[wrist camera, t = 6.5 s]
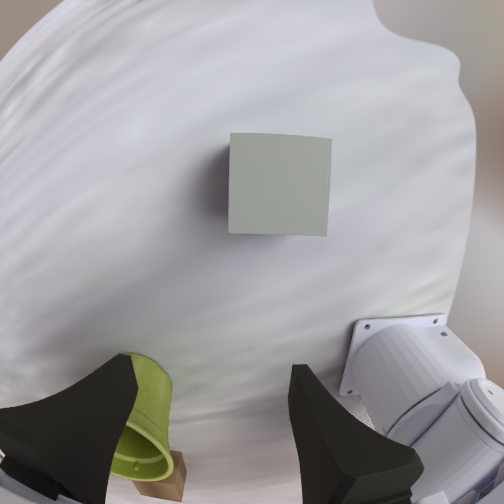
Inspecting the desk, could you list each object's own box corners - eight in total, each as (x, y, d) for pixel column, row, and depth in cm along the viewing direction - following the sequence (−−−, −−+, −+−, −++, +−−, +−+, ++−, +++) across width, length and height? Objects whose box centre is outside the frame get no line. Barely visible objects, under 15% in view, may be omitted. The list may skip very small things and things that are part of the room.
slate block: (311, 146, 18) (331, 138, 13) (307, 220, 20) (326, 236, 15) (235, 142, 18) (230, 133, 13) (233, 217, 19) (228, 233, 15)
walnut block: (181, 451, 26) (174, 485, 22) (186, 471, 28) (181, 501, 23) (140, 444, 26) (129, 476, 21) (148, 465, 28) (140, 494, 23)
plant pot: (190, 420, 25) (176, 491, 16) (103, 400, 24) (71, 460, 16) (192, 348, 22) (169, 428, 14) (88, 326, 22) (37, 386, 13)
